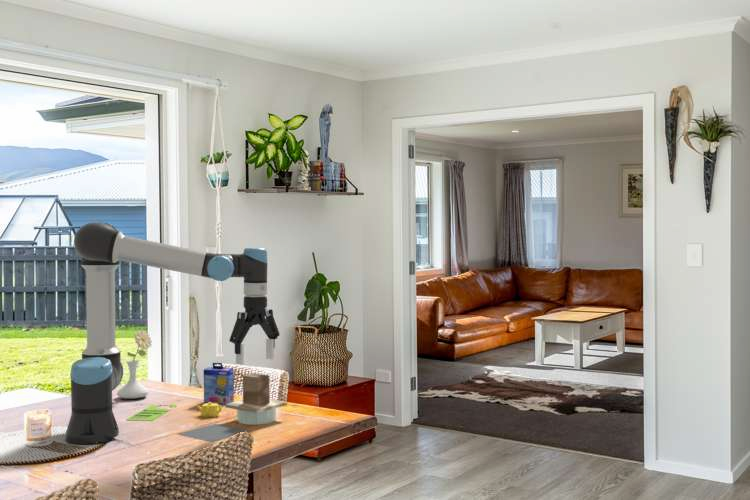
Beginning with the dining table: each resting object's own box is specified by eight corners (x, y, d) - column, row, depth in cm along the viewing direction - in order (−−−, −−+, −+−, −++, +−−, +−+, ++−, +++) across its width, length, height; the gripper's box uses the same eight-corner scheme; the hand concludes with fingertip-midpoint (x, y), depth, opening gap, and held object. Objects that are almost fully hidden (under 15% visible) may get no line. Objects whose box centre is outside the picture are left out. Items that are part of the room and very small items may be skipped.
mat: (212, 444, 239) (212, 442, 239) (176, 436, 249) (176, 433, 249) (251, 433, 252) (251, 430, 252) (216, 425, 262) (216, 423, 262)
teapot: (194, 420, 270) (194, 404, 270) (199, 416, 276) (199, 400, 275) (218, 420, 269) (218, 404, 269) (223, 416, 275) (222, 401, 275)
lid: (256, 413, 256) (256, 381, 256) (225, 407, 265) (224, 376, 264) (287, 405, 268) (286, 374, 267) (256, 399, 276) (256, 370, 276)
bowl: (256, 428, 258) (256, 412, 258) (229, 423, 265) (229, 407, 265) (282, 421, 268) (282, 405, 267) (256, 416, 275) (256, 400, 275)
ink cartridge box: (202, 403, 295) (202, 362, 295) (208, 399, 301) (208, 360, 300) (229, 404, 294) (228, 363, 293) (234, 400, 299) (234, 361, 299)
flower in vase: (125, 402, 297) (124, 333, 296) (111, 397, 305) (110, 330, 304) (158, 397, 306) (157, 330, 305) (144, 392, 314) (143, 327, 313)
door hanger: (152, 422, 269) (180, 405, 293) (152, 420, 269) (180, 403, 293) (125, 421, 270) (155, 404, 295) (125, 419, 270) (155, 403, 295)
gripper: (235, 299, 253) (234, 367, 253) (290, 294, 273) (290, 357, 273) (218, 297, 257) (218, 365, 258) (273, 292, 277) (273, 355, 278)
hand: (255, 361), depth 266 cm, fingers open, 13 cm apart
